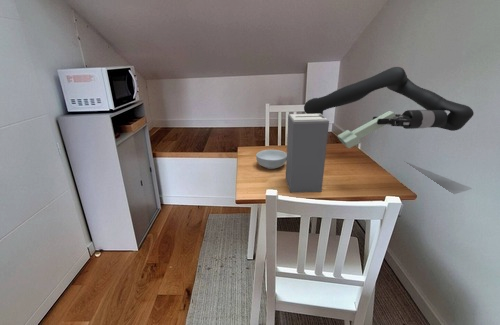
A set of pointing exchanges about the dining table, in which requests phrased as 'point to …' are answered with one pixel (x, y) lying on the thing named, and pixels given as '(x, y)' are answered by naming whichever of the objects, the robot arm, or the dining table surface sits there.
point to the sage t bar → (362, 130)
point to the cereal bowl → (271, 158)
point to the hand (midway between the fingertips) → (375, 120)
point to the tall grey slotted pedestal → (306, 152)
